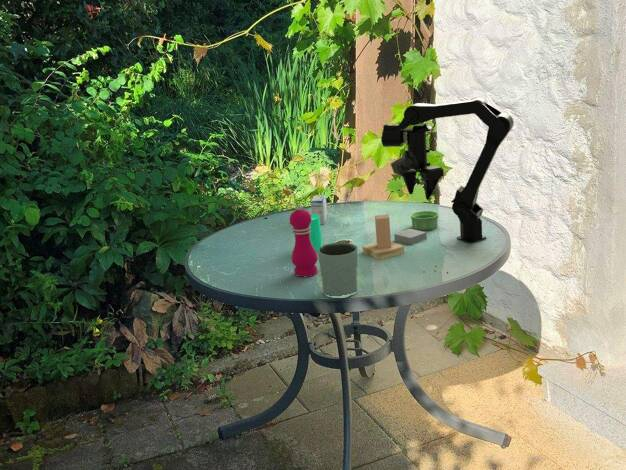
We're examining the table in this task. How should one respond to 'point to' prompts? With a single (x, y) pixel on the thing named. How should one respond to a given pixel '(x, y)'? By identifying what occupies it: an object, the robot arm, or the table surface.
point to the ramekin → (424, 220)
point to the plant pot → (338, 268)
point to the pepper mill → (303, 243)
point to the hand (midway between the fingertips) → (419, 196)
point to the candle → (315, 232)
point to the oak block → (383, 250)
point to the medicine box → (319, 207)
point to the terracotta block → (383, 231)
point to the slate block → (410, 236)
